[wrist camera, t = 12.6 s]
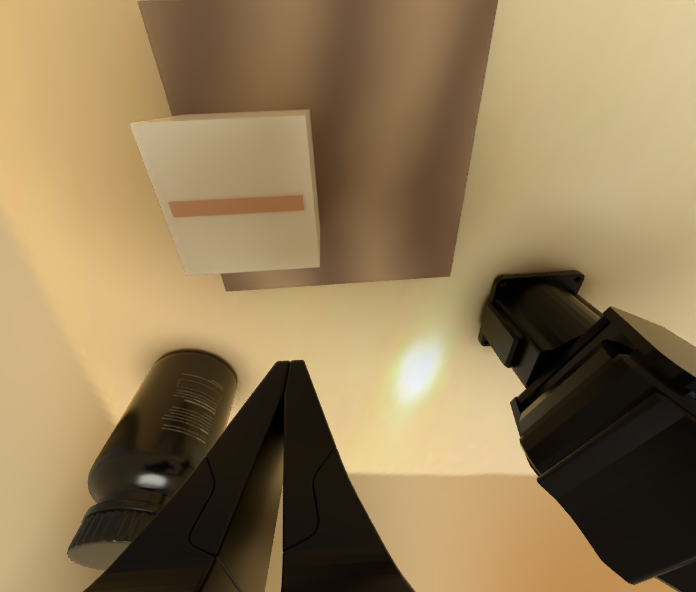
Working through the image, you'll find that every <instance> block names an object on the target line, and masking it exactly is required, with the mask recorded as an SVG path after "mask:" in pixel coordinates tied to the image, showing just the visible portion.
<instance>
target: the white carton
mask: <svg viewBox="0 0 696 592" xmlns="http://www.w3.org/2000/svg"><path fill="white" fill-rule="evenodd" d="M129 125H130V127H131V130H132V133H133V135H134V138H135V141H136V143H137V146H138V149H139V151H140V154H141V156H142V159H143V162H144V164H145V167H146V170H147V172H148V175H149V178H150V180H151V183H152V186H153V188H154V191H155V194H156V196H157V199H158V202H159V204H160V207H161V210H162V212H163V215H164V217H165V220H166V223H167V225H168V228H169V231H170V233H171V236H172V239H173V241H174V244H175V247H176V249H177V252H178V255H179V257H180V260H181V263H182V265H183V268H184V271H185V273H186V276H190V275H206V274H222V273H237V272H253V271H268V270H284V269H300V268H315V267H320V221H319V209H318V198H317V187H316V175H315V164H314V152H313V141H312V130H311V118H310V109H303V110H280V111H256V112H232V113H208V114H185V115H178V116H171V117H165V118H159V119H152V120H146V121H140V122H133V123H129Z"/></svg>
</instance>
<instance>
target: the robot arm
mask: <svg viewBox="0 0 696 592" xmlns="http://www.w3.org/2000/svg"><path fill="white" fill-rule="evenodd" d="M583 280H584V275H583V274H582V273H581V272H579V271H566V272H551V273H536V274H522V275H507V276H500V277H498V278H497V279H496V280H495V281H494V284H493V288H492V292H491V295H490V299H489V303H488V304H487V306H486V310H485V313H484V317H483V321H482V325H481V328H480V330H481V332H480V336H479V342H480V343H481V345H482V346H491V347H492V348H493V350H494V351H495V353H496V354H497V356H498V357H499V359H500V360H501V362H502V363H503V364H504V366H506V367H507V368H512V369H513V371H514V372H515V373H516V375H517V376H518V378H519V379H520V381H521V382H522V384H523V385H524V386H525V388H526V389H525V390H524V391H523V392H522V393H521V394H520V395H519V396H518V397H515V398H514V399H513V400H512V401H511V402H510V404H511V408H512V411H513V414H514V418H515V421H516V425H517V428H518V432H519V435H520V439H519V440H520V444H521V447H522V449H523V451H524V452H525V455H526V457H527V460H528V462H529V464H530V466H531V468H532V469H533V470H534V471H535V473H536V474H537V475H538V478H537V481H538V483H539V484H540V485H541V486H542V487H543V488H544V489H545V490H546V491H547V492H548V493H549V494H550V495H552V496H553V497H554V498H555V499H556V500H557V501H558V502H559V504H560V505H561V506H562V507H563V508H564V510H565V511H566V512H567V513H568V514H569V515H570V516H571V518H572V519H573V520H574V522H575V523H576V524H577V526H578V527H579V529H580V530H581V531H582V533H583V534H584V536H585V537H586V539H587V540H588V542H589V543H590V544H591V546H592V547H593V548H594V550H595V552H596V553H597V555H598V556H599V558H600V559H601V560H602V561H603V562H604V563H605V564H606V565H607V566H608V567H610V568H611V569H612V570H613V571H614V572H616V573H617V574H618V575H619V576H621V577H622V578H623V579H624V580H625V581H627V582H628V583H630V584H633V585H635V584H638V583H641V582H643V581H646V580H648V579H651V578H654V577H655V578H657V579H658V580H660V581H661V582H663V583H665V584H666V585H668V586H670V587H671V588H673V589H675V590H676V591H678V592H696V347H695V346H693V345H691V344H690V343H688V342H687V341H685V340H683V339H682V338H680V337H679V336H677V335H675V334H674V333H672V332H671V331H669V330H667V329H666V328H664V327H662V326H660V325H657V324H655V323H652V322H649V321H647V320H644V319H642V318H639V317H637V316H634V315H632V314H629V313H627V312H624V311H622V310H619V309H617V308H614V307H611V306H610V307H609V308H608V309H607V310H606V311H605V312H604V313H603V314H602V313H601V312H600V311H598V310H597V309H596V308H595V307H593V306H592V305H591V304H589V303H588V302H587V301H586V300H584V299H583V298H582V297H581V296H579V295H578V294H577V293H578V291H579V289H580V287H581V285H582V282H583ZM502 282H504V283H503V284H501V283H502ZM500 284H501V285H500ZM206 456H207V457H203V459H202V460H201V461H200V463H199V464H198V465H197V467H196V468H195V469H194V471H193V472H192V473H191V474H190V476H189V477H188V478H187V479H186V481H185V482H184V483H183V484H182V486H181V487H180V488H179V489H178V490H177V492H176V493H175V494H174V495H173V496H172V497H171V499H170V500H169V501H168V502H167V503H166V504H165V505H164V507H163V508H162V509H161V510H160V511H159V512H158V513H157V514H156V516H155V517H154V518H153V519H152V520H151V521H150V522H149V523H148V524H147V526H146V527H145V528H144V529H143V530H142V531H141V532H140V533H139V534H138V535H137V537H136V538H135V539H134V540H133V541H132V542H131V543H130V544H129V545H128V547H127V548H126V549H125V550H124V551H123V552H122V553H121V554H120V555H119V557H118V558H117V559H116V560H115V561H114V562H113V563H112V564H111V565H110V566H109V567H108V568H107V570H106V571H105V572H104V573H103V574H102V575H101V576H100V577H99V578H98V579H97V580H95V581H94V582H93V583H92V584H91V585H90V586H89V587H88V588H87V589H85V590H84V591H83V592H265V586H266V580H267V574H268V568H269V562H270V556H271V550H272V545H273V539H274V533H275V527H276V521H277V515H278V509H279V503H280V497H281V491H282V485H283V567H282V587H281V592H415V590H414V589H413V588H412V587H411V585H410V584H409V583H408V581H407V580H406V579H405V577H404V576H403V575H402V573H401V572H400V570H399V569H398V567H397V566H396V564H395V562H394V561H393V559H392V558H391V556H390V554H389V552H388V551H387V549H386V547H385V546H384V544H383V542H382V540H381V538H380V537H379V535H378V533H377V531H376V529H375V527H374V525H373V523H372V522H371V520H370V518H369V516H368V514H367V512H366V511H365V509H364V507H363V505H362V503H361V501H360V499H359V497H358V496H357V493H356V492H355V489H354V487H353V485H352V483H351V481H350V479H349V477H348V475H347V472H346V470H345V468H344V465H343V463H342V460H341V458H340V455H339V452H338V450H337V448H336V445H335V442H334V439H333V437H332V434H331V431H330V429H329V426H328V423H327V421H326V418H325V415H324V413H323V410H322V407H321V405H320V402H319V399H318V397H317V394H316V391H315V389H314V386H313V383H312V381H311V378H310V375H309V373H308V370H307V367H306V365H305V362H304V361H303V360H292V361H291V362H290V361H278V362H276V363H275V364H274V366H273V367H272V368H271V370H270V371H269V372H268V374H267V375H266V376H265V378H264V379H263V380H262V381H261V383H260V384H259V385H258V387H257V388H256V389H255V391H254V392H253V393H252V395H251V396H250V397H249V399H248V400H247V401H246V403H245V404H244V405H243V406H242V408H241V409H240V410H239V412H238V413H237V414H236V416H235V417H234V418H233V420H232V421H231V422H230V424H229V425H228V426H227V427H226V429H225V430H224V431H223V433H222V434H221V435H220V437H219V438H218V439H217V441H216V442H215V443H214V445H213V446H212V447H211V449H210V450H209V451H208V452H207V454H206Z"/></svg>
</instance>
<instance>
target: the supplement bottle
mask: <svg viewBox="0 0 696 592" xmlns="http://www.w3.org/2000/svg"><path fill="white" fill-rule="evenodd" d="M236 387H237V384H236V379H235V376H234V374H233V373H232V371H231V370H230V369H229V368H228V367H227V366H226V365H225V364H224V363H223V362H221V361H219V360H218V359H216V358H214V357H211V356H209V355H205V354H201V353H196V352H180V353H175V354H171V355H168V356H166V357H164V358H162V359H160V360H159V361H158V362H156V363H155V365H154V366H153V367H152V368H151V370H150V371H149V373H148V375H147V376H146V378H145V379H144V381H143V383H142V384H141V386H140V388H139V389H138V391H137V393H136V394H135V396H134V397H133V399H132V401H131V402H130V404H129V406H128V407H127V409H126V411H125V412H124V414H123V416H122V417H121V419H120V421H119V422H118V424H117V426H116V427H115V429H114V431H113V432H112V434H111V435H110V437H109V439H108V441H107V442H106V444H105V445H104V447H103V449H102V450H101V452H100V454H99V455H98V457H97V459H96V460H95V462H94V464H93V466H92V468H91V470H90V472H89V476H88V489H89V492H90V494H91V496H92V498H93V499H94V501H95V502H96V503H97V504H96V505H94V506H92V507H90V508H89V509H88V511H87V512H86V514H85V516H84V518H83V520H82V524H81V526H80V528H79V529H78V531H77V533H76V535H75V537H74V538H73V540H72V542H71V544H70V546H69V548H68V552H67V555H68V557H69V558H70V559H71V561H74V562H75V563H77V564H80V565H82V566H85V567H89V568H93V569H97V570H105V571H106V570H107V568H108V567H109V566H110V565H111V564H112V563H113V562H114V561H115V560H116V559H117V558H118V557H119V555H120V554H121V553H122V552H123V551H124V550H125V549H126V548H127V547H128V545H129V544H130V543H131V542H132V541H133V540H134V539H135V538H136V537H137V535H138V534H139V533H140V532H141V531H142V530H143V529H144V528H145V527H146V526H147V524H148V523H149V522H150V521H151V520H152V519H153V518H154V517H155V516H156V514H157V513H158V512H159V511H160V510H161V509H162V508H163V507H164V505H165V504H166V503H167V502H168V501H169V500H170V499H171V497H172V496H173V495H174V494H175V493H176V492H177V490H178V489H179V488H180V487H181V486H182V484H183V483H184V482H185V481H186V479H187V478H188V477H189V476H190V474H191V473H192V472H193V471H194V469H195V468H196V467H197V465H198V464H199V463H200V461H201V460H202V459H203V457H207V456H206V454H207V452H208V451H209V450H210V449H211V447H212V446H213V445H214V443H215V442H216V441H217V439H218V438H219V437H220V435H221V434H222V433H223V431H224V430H225V429H226V425H227V422H228V418H229V415H230V411H231V408H232V404H233V400H234V397H235V393H236Z"/></svg>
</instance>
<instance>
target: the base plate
mask: <svg viewBox="0 0 696 592" xmlns="http://www.w3.org/2000/svg"><path fill="white" fill-rule="evenodd" d="M497 3H498V0H151V1H138V5H139V8H140V11H141V15H142V18H143V21H144V24H145V28H146V31H147V34H148V37H149V41H150V44H151V47H152V50H153V54H154V57H155V60H156V64H157V67H158V70H159V73H160V77H161V80H162V83H163V86H164V90H165V93H166V96H167V100H168V103H169V106H170V109H171V113H172V116H178V115H185V114H208V113H232V112H256V111H280V110H303V109H310V118H311V130H312V141H313V152H314V164H315V175H316V187H317V198H318V209H319V221H320V267H315V268H300V269H284V270H268V271H253V272H237V273H222V274H221V276H222V279H223V283H224V286H225V289H226V291H241V290H255V289H270V288H285V287H300V286H314V285H329V284H344V283H358V282H373V281H388V280H403V279H417V278H432V277H447V276H450V273H451V267H452V262H453V256H454V250H455V244H456V239H457V233H458V227H459V221H460V216H461V210H462V204H463V198H464V193H465V187H466V181H467V175H468V170H469V164H470V158H471V152H472V147H473V141H474V135H475V129H476V124H477V118H478V112H479V106H480V101H481V95H482V89H483V84H484V78H485V72H486V66H487V61H488V55H489V49H490V43H491V38H492V32H493V26H494V20H495V15H496V9H497Z"/></svg>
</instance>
